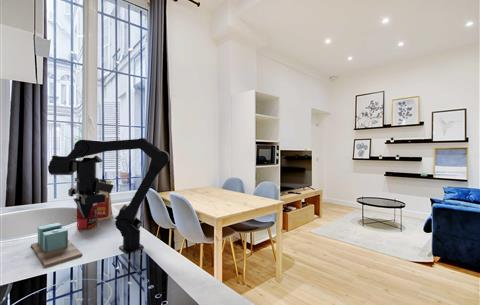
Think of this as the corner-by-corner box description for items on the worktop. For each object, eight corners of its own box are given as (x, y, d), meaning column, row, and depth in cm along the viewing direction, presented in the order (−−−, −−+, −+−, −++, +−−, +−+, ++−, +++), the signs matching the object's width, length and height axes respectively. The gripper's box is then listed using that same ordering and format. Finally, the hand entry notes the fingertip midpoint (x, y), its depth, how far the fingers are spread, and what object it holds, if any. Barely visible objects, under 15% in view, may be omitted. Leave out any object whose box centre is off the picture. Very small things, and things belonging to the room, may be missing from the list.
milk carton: (91, 220, 112) (91, 180, 111) (93, 215, 120) (93, 177, 119) (112, 218, 116) (112, 179, 115) (113, 213, 124) (113, 176, 123)
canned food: (90, 230, 100) (90, 206, 100) (72, 229, 100) (72, 205, 100) (101, 224, 108) (101, 201, 107) (84, 223, 108) (84, 200, 107)
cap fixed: (61, 240, 88) (61, 224, 88) (40, 245, 83) (39, 229, 83) (59, 237, 90) (59, 222, 90) (37, 242, 85) (37, 226, 85)
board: (82, 255, 79) (82, 253, 79) (44, 267, 71) (44, 265, 71) (64, 237, 92) (64, 235, 92) (31, 246, 84) (31, 243, 84)
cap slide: (67, 246, 83) (67, 229, 83) (45, 252, 78) (45, 234, 78) (64, 243, 85) (64, 226, 85) (42, 249, 80) (42, 231, 80)
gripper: (121, 176, 81) (121, 219, 82) (101, 170, 93) (100, 208, 94) (85, 179, 72) (85, 227, 73) (67, 172, 84) (67, 214, 85)
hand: (86, 218), depth 81 cm, fingers closed
